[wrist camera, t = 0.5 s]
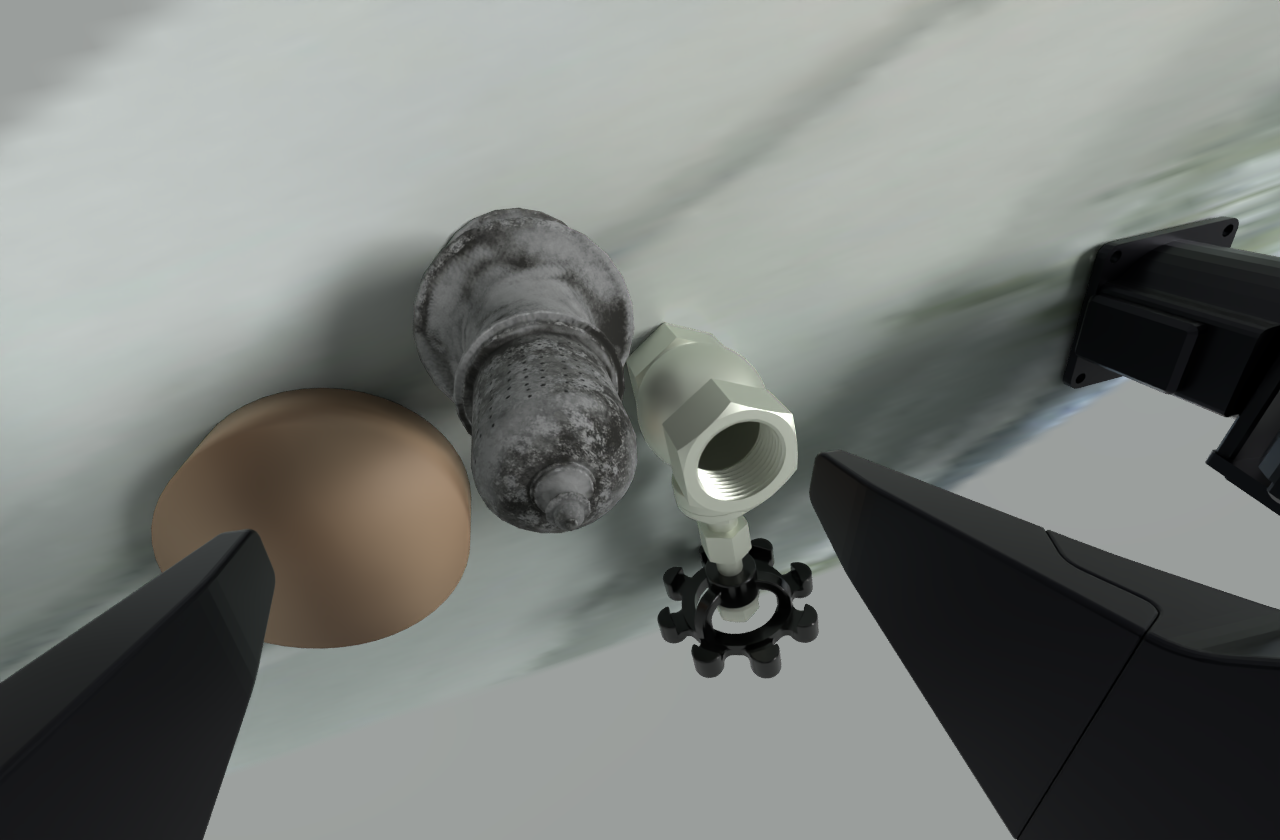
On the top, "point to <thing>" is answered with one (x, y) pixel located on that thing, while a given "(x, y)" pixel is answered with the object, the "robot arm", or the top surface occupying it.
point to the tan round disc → (329, 511)
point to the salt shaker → (533, 365)
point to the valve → (721, 492)
